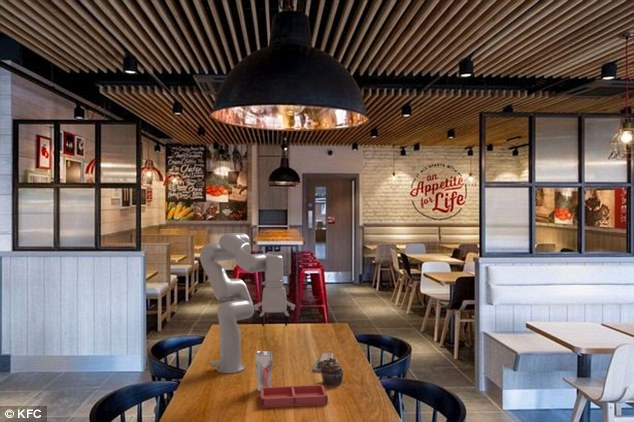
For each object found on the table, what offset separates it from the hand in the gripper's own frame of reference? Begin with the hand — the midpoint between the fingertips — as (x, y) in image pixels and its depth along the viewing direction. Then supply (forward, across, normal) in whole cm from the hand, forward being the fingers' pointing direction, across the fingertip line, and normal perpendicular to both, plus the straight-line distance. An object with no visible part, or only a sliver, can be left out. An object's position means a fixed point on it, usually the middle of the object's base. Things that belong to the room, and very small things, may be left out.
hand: (274, 325), depth 219 cm
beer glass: (+26, -4, -4) cm, 26 cm away
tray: (+25, +8, -16) cm, 31 cm away
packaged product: (+26, +22, +27) cm, 44 cm away
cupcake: (+26, +24, +3) cm, 35 cm away
